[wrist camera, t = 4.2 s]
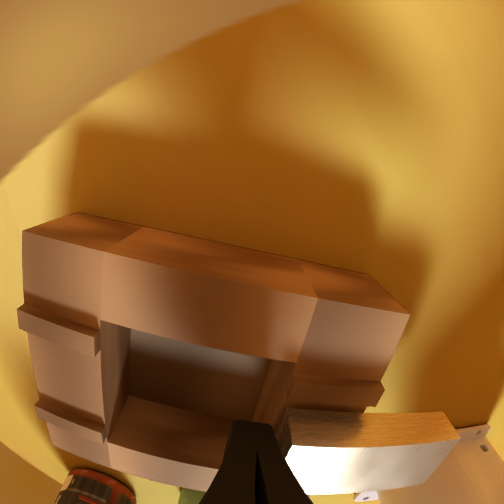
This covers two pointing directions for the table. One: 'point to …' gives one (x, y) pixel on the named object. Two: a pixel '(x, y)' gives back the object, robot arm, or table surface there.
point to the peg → (190, 496)
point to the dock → (189, 342)
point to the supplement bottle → (93, 489)
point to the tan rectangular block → (363, 449)
